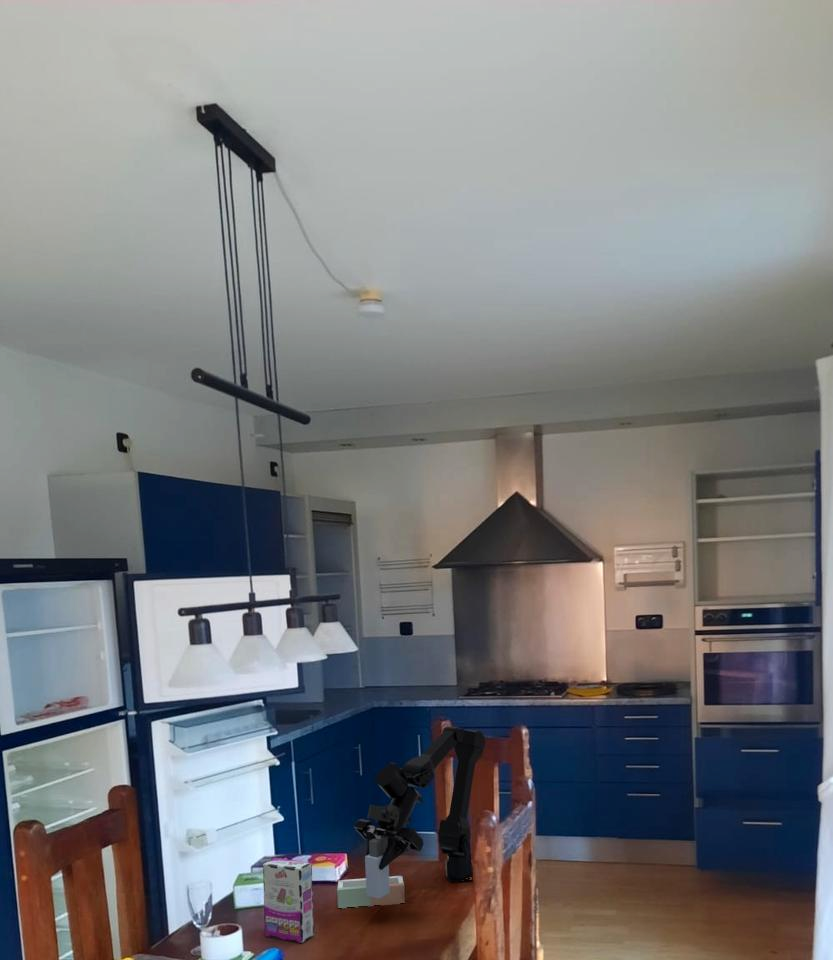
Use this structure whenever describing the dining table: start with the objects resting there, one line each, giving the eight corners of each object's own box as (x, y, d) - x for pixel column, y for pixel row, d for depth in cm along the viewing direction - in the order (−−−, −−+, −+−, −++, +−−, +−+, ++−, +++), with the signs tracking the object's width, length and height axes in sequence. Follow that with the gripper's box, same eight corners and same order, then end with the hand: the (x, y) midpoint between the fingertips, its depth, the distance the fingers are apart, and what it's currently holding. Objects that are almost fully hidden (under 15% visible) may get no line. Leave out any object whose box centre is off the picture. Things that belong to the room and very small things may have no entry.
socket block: (338, 894, 219) (338, 876, 219) (402, 889, 220) (402, 871, 221) (338, 908, 209) (337, 890, 210) (404, 903, 210) (404, 885, 211)
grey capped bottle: (377, 889, 204) (375, 836, 205) (389, 893, 202) (387, 839, 203) (366, 895, 201) (364, 841, 202) (378, 898, 198) (376, 844, 200)
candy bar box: (315, 935, 194) (313, 862, 196) (302, 944, 190) (300, 869, 192) (276, 928, 199) (274, 856, 201) (263, 936, 195) (261, 863, 197)
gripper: (357, 786, 213) (328, 843, 203) (413, 795, 201) (385, 856, 191) (378, 810, 218) (351, 867, 208) (435, 820, 206) (409, 881, 197)
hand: (373, 867), depth 201 cm, fingers closed on grey capped bottle, 4 cm apart
